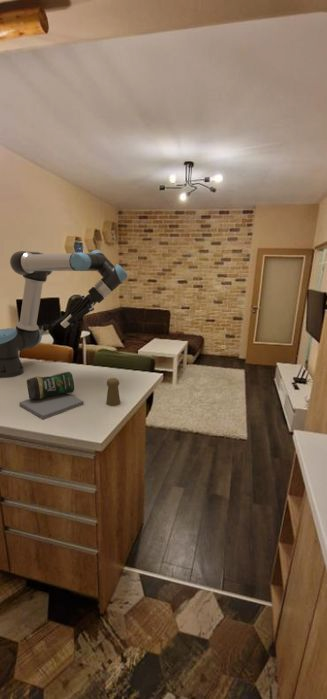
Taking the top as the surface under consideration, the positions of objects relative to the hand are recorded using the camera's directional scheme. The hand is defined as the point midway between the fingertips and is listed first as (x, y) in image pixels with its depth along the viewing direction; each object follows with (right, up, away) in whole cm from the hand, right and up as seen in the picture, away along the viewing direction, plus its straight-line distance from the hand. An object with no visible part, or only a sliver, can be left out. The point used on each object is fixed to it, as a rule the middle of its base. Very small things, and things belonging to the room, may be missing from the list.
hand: (62, 325), depth 145 cm
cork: (+26, -34, -12) cm, 45 cm away
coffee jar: (+6, -26, -6) cm, 27 cm away
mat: (+1, -34, -16) cm, 38 cm away
